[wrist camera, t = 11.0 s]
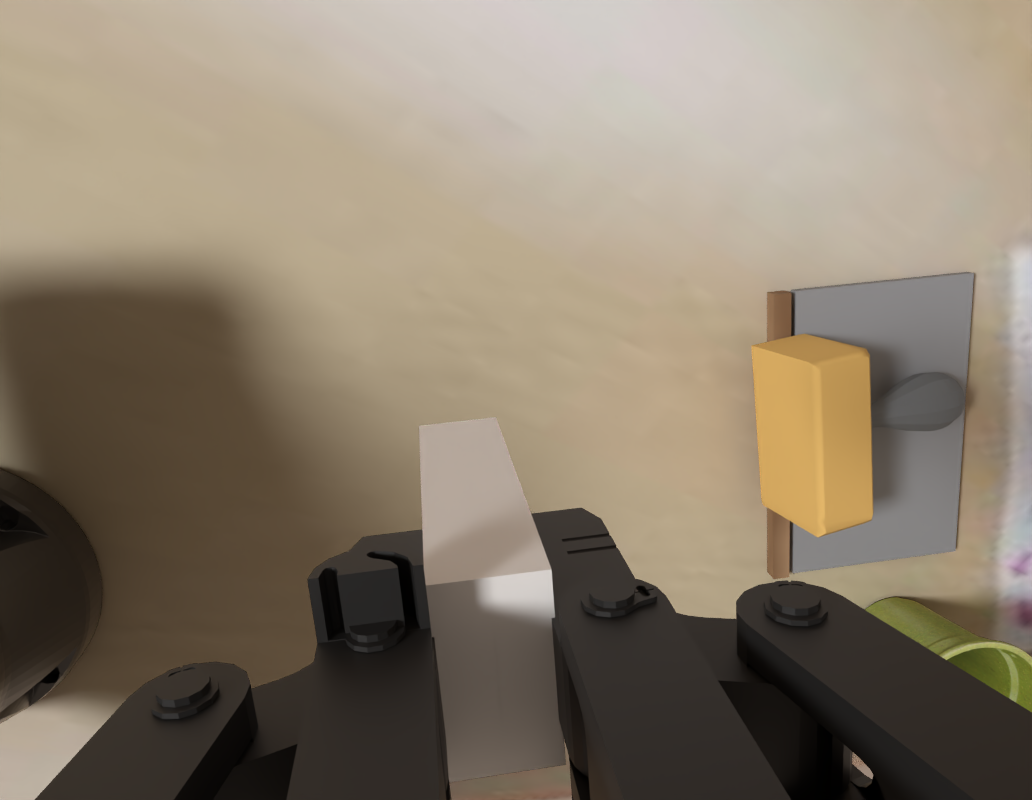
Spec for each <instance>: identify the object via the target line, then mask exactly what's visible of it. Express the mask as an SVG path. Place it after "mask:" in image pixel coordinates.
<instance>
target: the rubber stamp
mask: <svg viewBox="0 0 1032 800" xmlns="http://www.w3.org/2000/svg"><path fill="white" fill-rule="evenodd" d="M752 361H753V376H754V391H755V407H756V422H757V437H758V453H759V468H760V483H761V499H762V502H763V505H764V506H766V507H767V508H769V509H771V510H773V511H774V512H776V513H778V514H779V515H781V516H783V517H784V518H786V519H788V520H789V521H791V522H793V523H794V524H796V525H798V526H799V527H801V528H803V529H804V530H806V531H808V532H809V533H811V534H813V535H814V536H816V537H822V536H825V535H828V534H831V533H835V532H838V531H841V530H844V529H848V528H851V527H854V526H858V525H861V524H864V523H866V522H869V521H871V520H872V516H873V512H874V511H873V467H872V428H875V427H885V428H893V429H899V430H905V431H935V430H939V429H943V428H944V427H946V426H948V425H950V424H951V423H952V422H953V421H954V420H955V419H957V418H958V417H959V416H960V415H961V413H962V411H963V409H964V405H965V401H966V400H965V396H964V391H963V389H962V387H961V386H960V384H959V383H958V381H956V380H955V379H953V378H951V377H950V376H948V375H946V374H944V373H940V372H931V373H919V374H915V375H912V376H910V377H907V378H906V379H904V380H902V381H901V382H899V383H898V384H897V385H895V386H894V387H893V388H892V389H890V390H889V391H888V392H887V393H886V394H884V395H883V396H882V397H881V398H879V399H878V400H877V401H875V402H874V403H872V404H871V381H870V354H869V353H868V351H867V349H866V348H861V347H857V346H853V345H849V344H845V343H841V342H837V341H833V340H828V339H824V338H820V337H816V336H812V335H808V334H800V335H795V336H791V337H787V338H782V339H778V340H774V341H769V342H765V343H761V344H756V345H752Z"/></svg>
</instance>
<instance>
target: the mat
mask: <svg viewBox="0 0 1032 800" xmlns="http://www.w3.org/2000/svg"><path fill="white" fill-rule="evenodd" d="M973 280H974V273H970V272H963V273H953V274H943V275H933V276H923V277H914V278H904V279H894V280H884V281H874V282H864V283H854V284H845V285H835V286H825V287H815V288H805V289H795V290H791V336H795V335H800V334H808V335H812V336H816V337H820V338H824V339H828V340H833V341H837V342H841V343H845V344H849V345H853V346H857V347H861V348H866V349H867V351H868V353H869V354H870V381H871V404H872V403H874V402H875V401H877V400H878V399H879V398H881V397H882V396H883V395H884V394H886V393H887V392H888V391H889V390H890V389H892V388H893V387H894V386H895V385H897V384H898V383H899V382H901V381H902V380H904V379H906V378H907V377H910V376H912V375H915V374H919V373H931V372H940V373H944V374H946V375H948V376H950V377H951V378H953V379H955V380H956V381H958V383H959V384H960V386H961V387H962V389H963V391H964V396H965V400H966V385H967V370H968V355H969V340H970V325H971V310H972V295H973ZM964 415H965V405H964V409H963V411H962V413H961V415H960V416H959V417H958V418H957V419H955V420H954V421H953V422H952V423H951V424H950V425H948V426H946V427H944V428H943V429H939V430H935V431H905V430H899V429H893V428H885V427H875V428H872V467H873V511H874V512H873V516H872V520H871V521H869V522H866V523H864V524H861V525H858V526H854V527H851V528H848V529H844V530H841V531H838V532H835V533H831V534H828V535H825V536H822V537H816V536H814V535H813V534H811V533H809V532H808V531H806V530H804V529H803V528H801V527H799V526H798V525H796V524H794V523H793V522H791V521H790V543H789V569H790V570H791V571H792V572H793V573H798V572H806V571H813V570H820V569H828V568H835V567H842V566H850V565H857V564H864V563H872V562H879V561H886V560H894V559H901V558H908V557H916V556H923V555H930V554H938V553H945V552H952V551H955V549H956V534H957V519H958V505H959V490H960V475H961V460H962V445H963V430H964Z"/></svg>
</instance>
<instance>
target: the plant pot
mask: <svg viewBox="0 0 1032 800" xmlns="http://www.w3.org/2000/svg"><path fill="white" fill-rule="evenodd" d="M865 610H866V611H867V612H869V613H871V614H872V615H874V616H876V617H877V618H879V619H880V620H882V621H884V622H885V623H887V624H889V625H890V626H892V627H893V628H895V629H897V630H898V631H900V632H902V633H903V634H905V635H906V636H908V637H910V638H911V639H913V640H915V641H916V642H918V643H920V644H921V645H923V646H924V647H926V648H928V649H929V650H931V651H933V652H934V653H936V654H937V655H939V656H941V657H942V658H944V659H946V660H947V661H949V662H951V663H952V664H954V665H955V666H957V667H959V668H960V669H962V670H964V671H965V672H967V673H968V674H970V675H972V676H973V677H975V678H977V679H978V680H980V681H982V682H983V683H985V684H986V685H988V686H990V687H991V688H993V689H995V690H996V691H998V692H999V693H1001V694H1003V695H1004V696H1006V697H1008V698H1009V699H1011V700H1012V701H1014V702H1016V703H1017V704H1019V705H1021V706H1022V707H1024V708H1026V709H1027V710H1029V711H1030V712H1032V657H1031V656H1030V655H1029V654H1027V653H1026V652H1024V651H1023V650H1022V649H1020V648H1018V647H1016V646H1014V645H1012V644H1009V643H1005V642H1001V641H996V640H989V639H986V638H982V637H978V636H976V635H974V634H973V633H971V632H969V631H967V630H965V629H964V628H962V627H960V626H958V625H956V624H955V623H953V622H951V621H949V620H947V619H946V618H944V617H942V616H940V615H939V614H937V613H935V612H934V611H932V610H930V609H928V608H927V607H925V606H923V605H921V604H920V603H918V602H916V601H913V600H909V599H903V598H898V597H893V598H887V599H883V600H880V601H878V602H876V603H874V604H872V605H871V606H869V607H868V608H866V609H865Z"/></svg>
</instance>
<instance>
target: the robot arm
mask: <svg viewBox="0 0 1032 800" xmlns="http://www.w3.org/2000/svg"><path fill="white" fill-rule="evenodd" d="M419 440H420V470H421V500H422V530H415V531H407V532H399V533H391V534H382V535H374V536H366V537H362V539H361V540H360V541H359V542H358V543H357V544H356V545H355V546H354V547H353V548H352V549H351V550H350V551H348V552H345V553H343V554H340V555H338V556H335V557H332V558H330V559H328V560H326V561H325V562H323V563H322V564H320V565H319V566H318V567H316V568H315V569H314V570H313V571H312V573H311V574H310V576H309V578H308V579H307V580H308V587H309V593H310V599H311V605H312V611H313V618H314V624H315V630H316V636H317V643H318V644H317V649H316V654H315V659H314V662H313V663H312V664H310V665H309V666H307V667H305V668H303V669H302V670H300V671H298V672H296V673H294V674H292V675H289V676H287V677H284V678H282V679H279V680H276V681H273V682H270V683H267V684H264V685H261V686H258V687H255V688H252V689H251V685H250V681H249V678H248V675H247V673H246V671H244V670H242V669H241V668H239V667H237V666H236V665H234V664H228V663H220V662H209V663H200V664H198V663H193V664H189V665H184V666H183V667H182V668H180V667H178V668H175V669H172V670H169V671H167V672H166V673H164V674H163V675H161V676H159V677H157V678H155V679H153V680H151V681H149V682H147V683H145V684H144V685H143V686H142V687H140V688H139V689H138V690H137V691H136V692H134V693H133V694H132V695H131V696H130V697H128V698H127V699H126V701H125V702H124V703H123V704H122V705H121V706H120V707H119V708H118V709H117V710H116V712H115V713H114V714H113V715H112V716H111V717H110V718H109V719H108V720H107V721H106V722H105V724H104V725H103V726H102V727H101V728H100V729H99V730H98V731H97V732H96V733H95V734H94V736H93V737H92V738H91V739H90V740H89V741H88V742H87V743H86V744H85V745H84V746H83V748H82V749H81V750H80V751H79V752H78V753H77V754H76V755H75V756H74V757H73V759H72V760H71V761H70V762H69V763H68V764H67V765H66V766H65V767H64V768H63V769H62V771H61V772H60V773H59V774H58V775H57V776H56V777H55V778H54V779H53V780H52V781H51V783H50V784H49V785H48V786H47V787H46V788H45V789H44V790H43V791H42V792H41V793H40V795H39V796H38V797H37V798H36V799H35V800H451V794H450V785H449V783H450V782H456V781H463V780H469V779H476V778H482V777H489V776H495V775H502V774H508V773H515V772H521V771H528V770H534V769H541V768H547V767H554V766H560V765H566V761H565V747H564V739H565V743H566V746H567V750H568V754H569V761H570V775H571V789H572V800H1032V712H1030V711H1029V710H1027V709H1026V708H1024V707H1022V706H1021V705H1019V704H1017V703H1016V702H1014V701H1012V700H1011V699H1009V698H1008V697H1006V696H1004V695H1003V694H1001V693H999V692H998V691H996V690H995V689H993V688H991V687H990V686H988V685H986V684H985V683H983V682H982V681H980V680H978V679H977V678H975V677H973V676H972V675H970V674H968V673H967V672H965V671H964V670H962V669H960V668H959V667H957V666H955V665H954V664H952V663H951V662H949V661H947V660H946V659H944V658H942V657H941V656H939V655H937V654H936V653H934V652H933V651H931V650H929V649H928V648H926V647H924V646H923V645H921V644H920V643H918V642H916V641H915V640H913V639H911V638H910V637H908V636H906V635H905V634H903V633H902V632H900V631H898V630H897V629H895V628H893V627H892V626H890V625H889V624H887V623H885V622H884V621H882V620H880V619H879V618H877V617H876V616H874V615H872V614H871V613H869V612H867V611H866V610H864V609H862V608H861V607H859V606H858V605H856V604H854V603H853V602H851V601H849V600H848V599H846V598H845V597H843V596H841V595H839V594H837V593H834V592H832V591H830V590H828V589H826V588H823V587H819V586H815V585H810V584H806V583H804V582H800V581H791V582H788V581H776V582H774V583H768V584H761V585H758V586H756V587H753V588H751V589H749V590H747V591H744V593H743V594H742V595H741V596H740V597H739V599H738V600H737V601H736V619H723V618H704V617H695V616H687V615H683V614H679V613H676V612H675V610H674V608H673V607H672V605H671V603H670V602H669V600H668V599H667V597H666V595H665V594H663V593H662V592H661V591H660V590H659V589H658V588H657V587H656V586H654V585H651V584H649V583H647V582H644V581H642V580H639V579H635V578H634V576H633V574H632V572H631V571H630V569H629V567H628V565H627V564H626V562H625V560H624V558H623V557H622V555H621V553H620V551H619V550H618V548H616V544H615V542H614V541H613V539H612V537H611V536H609V532H608V530H607V528H606V527H605V525H604V523H603V521H602V520H601V518H599V517H597V516H595V515H593V514H592V513H590V512H588V511H586V510H585V509H583V508H575V509H567V510H559V511H550V512H542V513H534V514H531V512H530V509H529V506H528V504H527V501H526V498H525V495H524V493H523V490H522V487H521V485H520V482H519V479H518V476H517V474H516V471H515V468H514V465H513V463H512V460H511V457H510V454H509V452H508V449H507V446H506V444H505V441H504V438H503V435H502V433H501V430H500V427H499V424H498V422H497V419H496V417H492V418H483V419H474V420H465V421H456V422H447V423H438V424H429V425H420V426H419ZM101 605H102V583H101V576H100V571H99V567H98V563H97V560H96V557H95V554H94V552H93V550H92V548H91V545H90V543H89V541H88V540H87V538H86V536H85V534H84V533H83V531H82V530H81V528H80V527H79V526H78V524H77V523H76V522H75V520H74V519H73V518H72V517H71V516H70V515H69V513H68V512H67V511H66V510H65V509H64V508H63V507H62V506H61V505H60V504H59V503H57V502H56V501H55V500H54V499H53V498H51V497H50V496H49V495H47V494H46V493H45V492H43V491H42V490H40V489H39V488H37V487H36V486H34V485H33V484H31V483H29V482H27V481H25V480H24V479H22V478H19V477H17V476H15V475H13V474H11V473H8V472H5V471H3V470H0V723H2V722H4V721H6V720H7V719H9V718H11V717H12V716H14V715H16V714H18V713H19V712H21V711H23V710H25V709H26V708H28V707H30V706H31V705H33V704H34V703H36V702H37V701H39V700H40V699H42V698H43V697H44V696H46V695H47V694H48V693H49V692H50V691H51V690H53V689H54V688H55V687H56V686H57V685H58V684H59V683H60V682H61V681H62V680H63V679H64V678H65V676H66V675H67V674H68V673H69V671H70V670H71V669H72V667H73V666H74V664H75V663H76V662H77V660H78V659H79V657H80V656H81V655H82V653H83V652H84V650H85V649H86V647H87V646H88V644H89V642H90V640H91V639H92V636H93V634H94V632H95V630H96V627H97V624H98V621H99V616H100V612H101ZM852 752H854V753H855V754H856V755H857V756H858V757H859V758H860V759H861V760H862V761H863V762H864V763H865V764H866V765H867V766H868V767H869V768H870V770H871V771H872V773H873V779H870V778H869V777H867V776H866V775H864V774H863V773H862V772H861V771H860V770H858V769H857V768H856V767H855V766H854V765H853V764H852Z"/></svg>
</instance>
